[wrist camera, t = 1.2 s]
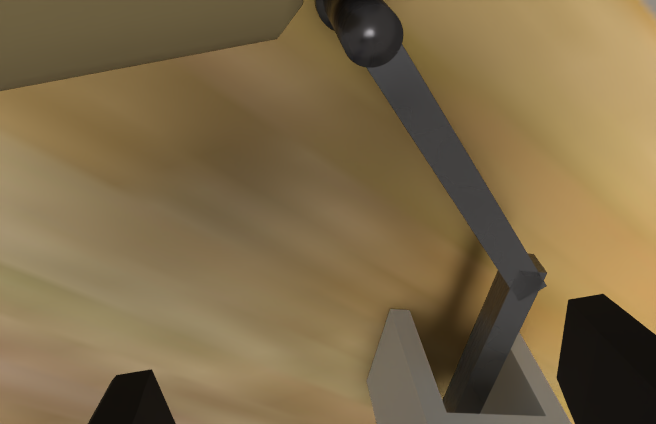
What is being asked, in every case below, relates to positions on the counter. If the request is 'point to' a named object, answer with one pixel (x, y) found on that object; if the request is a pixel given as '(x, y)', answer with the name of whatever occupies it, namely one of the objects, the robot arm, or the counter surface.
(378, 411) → the grey u-shaped block
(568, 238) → the counter surface
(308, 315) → the counter surface
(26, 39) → the squeeze bottle
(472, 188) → the grey lever handle
